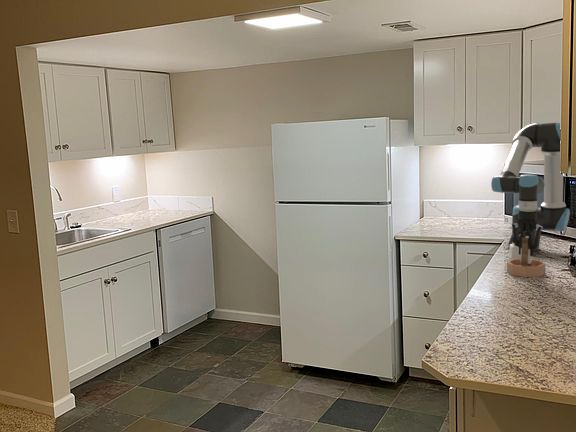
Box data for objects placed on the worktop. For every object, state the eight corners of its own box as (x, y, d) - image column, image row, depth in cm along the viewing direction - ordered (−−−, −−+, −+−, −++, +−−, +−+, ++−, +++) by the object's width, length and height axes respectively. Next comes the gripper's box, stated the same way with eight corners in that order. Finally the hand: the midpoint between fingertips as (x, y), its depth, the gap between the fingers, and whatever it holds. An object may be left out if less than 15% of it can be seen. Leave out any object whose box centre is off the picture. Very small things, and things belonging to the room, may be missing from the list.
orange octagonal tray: (516, 266, 273) (516, 257, 272) (548, 271, 262) (549, 261, 262) (502, 273, 262) (502, 263, 262) (535, 278, 252) (535, 268, 251)
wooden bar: (524, 266, 264) (525, 236, 262) (530, 267, 262) (531, 236, 260) (521, 268, 261) (522, 237, 259) (526, 269, 260) (527, 238, 257)
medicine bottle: (527, 261, 281) (528, 237, 279) (511, 261, 282) (512, 237, 280) (524, 258, 287) (525, 234, 286) (509, 258, 289) (509, 234, 287)
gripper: (506, 209, 261) (505, 261, 264) (542, 212, 250) (540, 266, 254) (513, 207, 266) (512, 258, 270) (549, 210, 255) (547, 263, 259)
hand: (526, 262), depth 262 cm, fingers closed on wooden bar, 2 cm apart
